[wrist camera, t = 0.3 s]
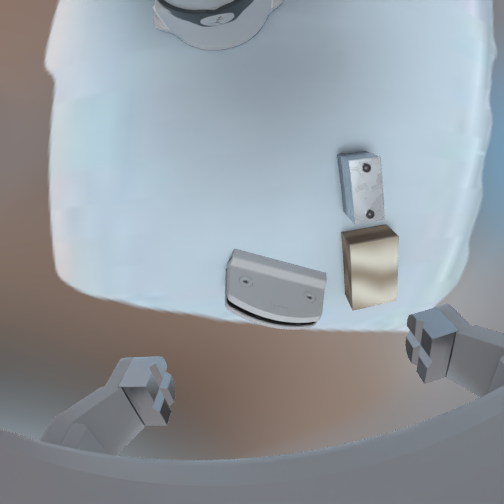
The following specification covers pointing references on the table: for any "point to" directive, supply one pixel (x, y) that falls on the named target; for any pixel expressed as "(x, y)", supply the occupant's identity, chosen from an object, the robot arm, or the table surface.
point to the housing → (361, 186)
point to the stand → (370, 266)
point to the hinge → (273, 291)
